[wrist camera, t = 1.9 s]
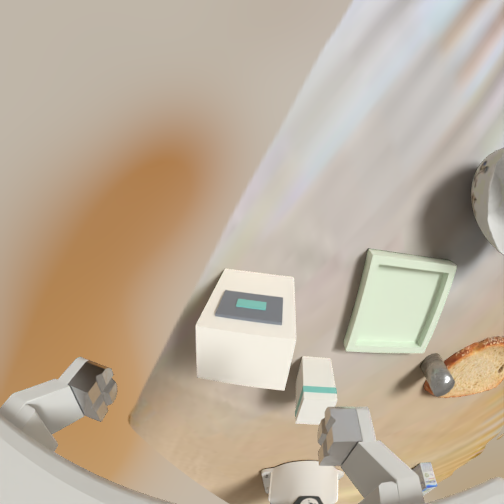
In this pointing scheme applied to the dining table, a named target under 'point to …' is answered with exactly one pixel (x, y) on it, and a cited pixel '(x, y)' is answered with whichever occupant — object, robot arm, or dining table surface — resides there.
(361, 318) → the tray
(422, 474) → the medicine box
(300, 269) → the dining table surface
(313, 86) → the dining table surface
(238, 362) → the cream tall block
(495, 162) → the teacup
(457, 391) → the bread slice
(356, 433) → the robot arm
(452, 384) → the cylinder
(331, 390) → the teal band cartridge
